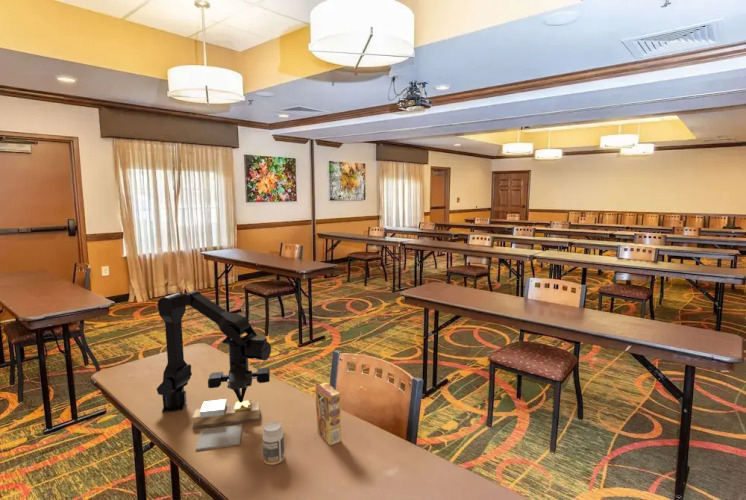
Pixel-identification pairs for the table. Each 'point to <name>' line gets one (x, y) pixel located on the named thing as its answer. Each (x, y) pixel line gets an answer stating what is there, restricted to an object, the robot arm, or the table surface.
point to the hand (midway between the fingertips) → (241, 402)
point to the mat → (219, 437)
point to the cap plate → (213, 408)
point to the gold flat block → (243, 405)
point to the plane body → (227, 416)
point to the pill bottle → (273, 443)
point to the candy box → (328, 413)
